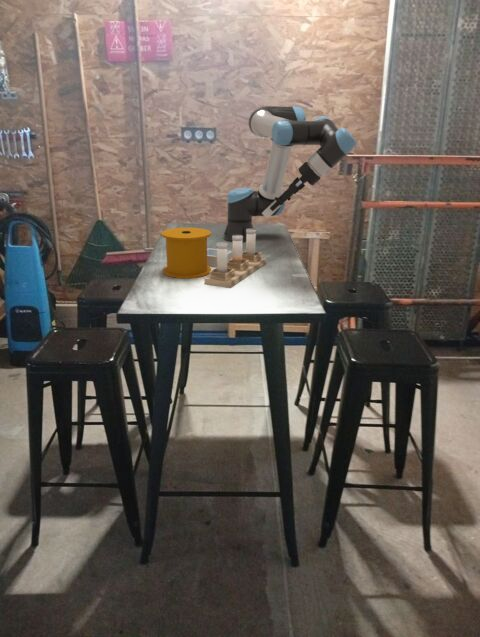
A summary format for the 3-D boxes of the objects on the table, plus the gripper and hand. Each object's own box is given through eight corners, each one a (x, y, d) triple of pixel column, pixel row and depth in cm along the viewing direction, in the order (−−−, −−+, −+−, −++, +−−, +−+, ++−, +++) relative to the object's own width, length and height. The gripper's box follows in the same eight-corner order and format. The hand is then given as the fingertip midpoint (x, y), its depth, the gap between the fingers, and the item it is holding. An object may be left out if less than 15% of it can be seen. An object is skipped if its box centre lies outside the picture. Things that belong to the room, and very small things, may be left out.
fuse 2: (247, 257, 193) (248, 227, 189) (256, 258, 192) (257, 228, 187) (244, 260, 190) (244, 229, 186) (253, 261, 189) (253, 230, 184)
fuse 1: (219, 275, 171) (219, 241, 167) (229, 276, 170) (229, 242, 165) (214, 278, 168) (214, 244, 164) (224, 279, 167) (224, 245, 162)
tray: (208, 257, 201) (208, 248, 199) (232, 260, 197) (233, 251, 195) (196, 264, 191) (195, 254, 190) (221, 267, 187) (221, 257, 186)
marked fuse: (234, 265, 182) (234, 234, 178) (243, 267, 181) (244, 235, 176) (230, 268, 179) (230, 236, 175) (239, 269, 178) (240, 237, 173)
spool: (213, 277, 175) (213, 236, 170) (163, 279, 173) (161, 238, 167) (208, 264, 192) (208, 226, 186) (162, 265, 189) (161, 227, 183)
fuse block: (242, 260, 197) (242, 249, 195) (265, 263, 193) (266, 252, 192) (204, 283, 168) (204, 271, 167) (230, 287, 165) (230, 275, 163)
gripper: (318, 181, 150) (269, 227, 158) (324, 174, 172) (281, 214, 181) (302, 163, 149) (253, 210, 158) (310, 158, 171) (267, 199, 180)
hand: (268, 212), depth 169 cm, fingers open, 13 cm apart
